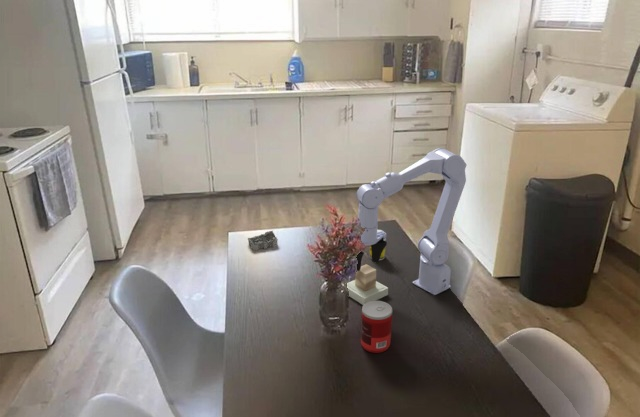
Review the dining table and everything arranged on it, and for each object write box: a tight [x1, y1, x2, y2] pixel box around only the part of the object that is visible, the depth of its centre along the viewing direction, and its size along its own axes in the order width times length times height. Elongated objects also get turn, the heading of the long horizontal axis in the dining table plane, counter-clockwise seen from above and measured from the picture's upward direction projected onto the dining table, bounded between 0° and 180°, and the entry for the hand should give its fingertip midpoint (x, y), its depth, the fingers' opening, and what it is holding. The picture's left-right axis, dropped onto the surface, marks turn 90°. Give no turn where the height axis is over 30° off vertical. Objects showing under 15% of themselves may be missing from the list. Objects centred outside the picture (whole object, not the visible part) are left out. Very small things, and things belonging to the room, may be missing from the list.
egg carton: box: [247, 230, 279, 251], centre depth 180 cm, size 11×8×4 cm
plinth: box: [346, 279, 389, 306], centre depth 147 cm, size 10×10×3 cm
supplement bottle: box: [369, 229, 387, 261], centre depth 168 cm, size 6×6×10 cm
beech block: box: [354, 263, 377, 291], centre depth 146 cm, size 4×4×6 cm
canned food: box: [360, 300, 393, 354], centre depth 123 cm, size 8×8×11 cm
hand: (366, 265), depth 144 cm, fingers open, 7 cm apart
